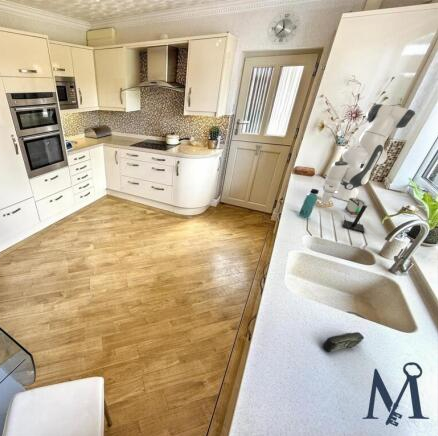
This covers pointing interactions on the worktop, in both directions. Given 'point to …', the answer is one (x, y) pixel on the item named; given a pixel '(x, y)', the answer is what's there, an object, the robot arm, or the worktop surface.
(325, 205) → the ring
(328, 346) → the dark elongated rock
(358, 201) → the food container
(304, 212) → the beverage bottle
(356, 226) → the post
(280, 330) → the worktop surface
